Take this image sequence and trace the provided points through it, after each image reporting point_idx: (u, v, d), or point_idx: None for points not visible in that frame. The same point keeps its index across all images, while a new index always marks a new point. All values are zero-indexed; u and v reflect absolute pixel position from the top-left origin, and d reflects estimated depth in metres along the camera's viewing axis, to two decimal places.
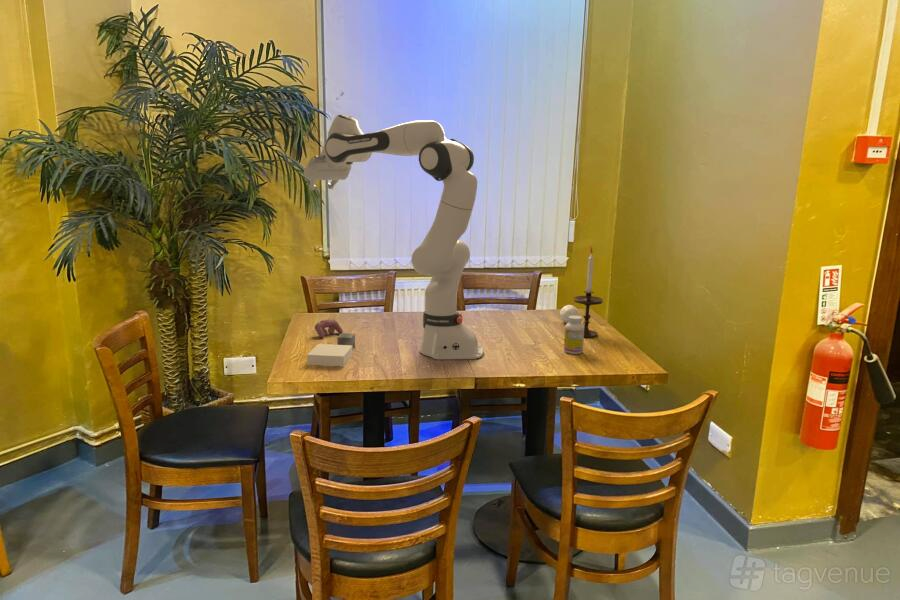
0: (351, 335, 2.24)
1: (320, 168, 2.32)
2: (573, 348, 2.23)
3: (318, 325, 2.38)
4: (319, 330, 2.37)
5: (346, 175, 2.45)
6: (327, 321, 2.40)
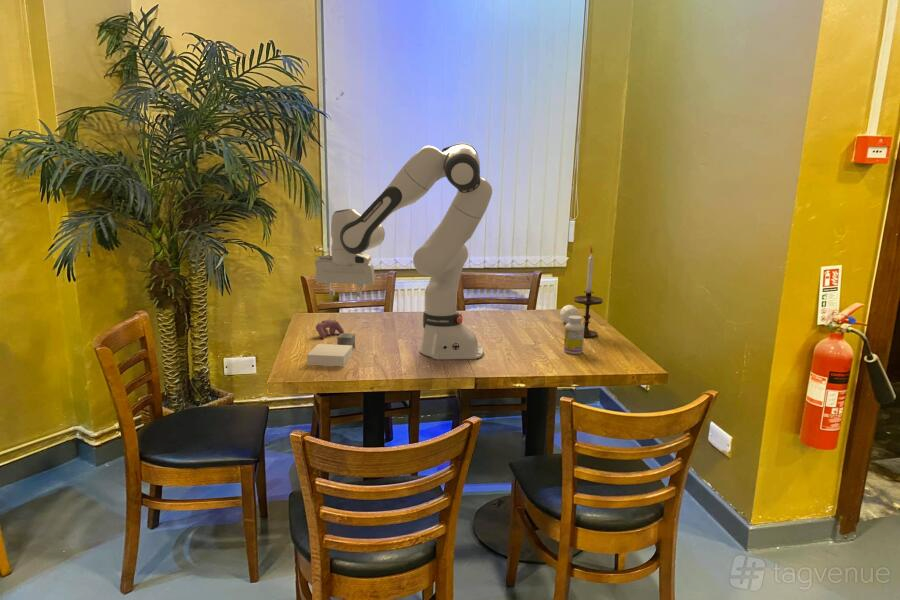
0: (351, 335, 2.24)
1: (327, 269, 2.17)
2: (573, 348, 2.23)
3: (319, 325, 2.37)
4: (320, 330, 2.37)
5: (369, 278, 2.16)
6: (328, 321, 2.40)
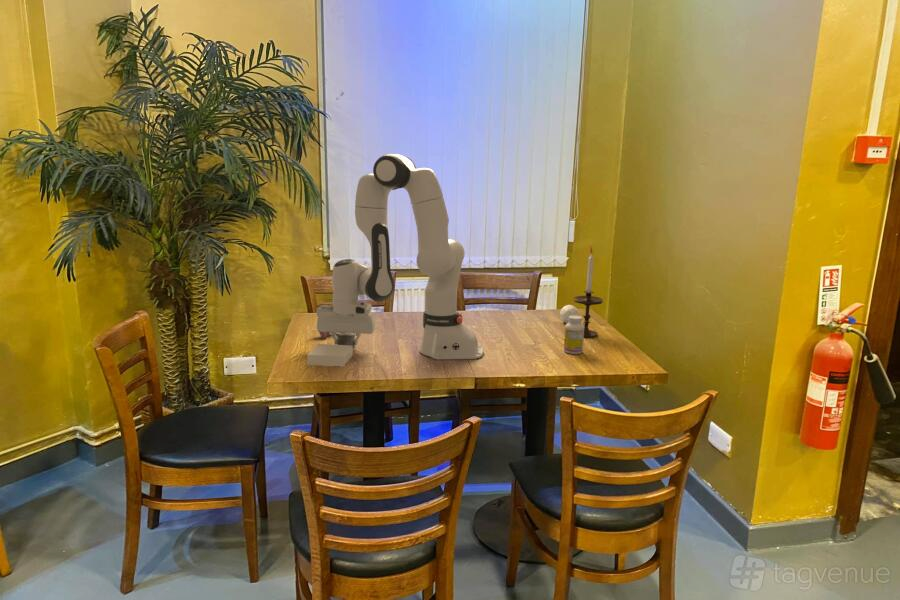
0: (351, 335, 2.24)
1: (328, 318, 2.21)
2: (573, 348, 2.23)
3: None
4: None
5: (369, 328, 2.20)
6: None
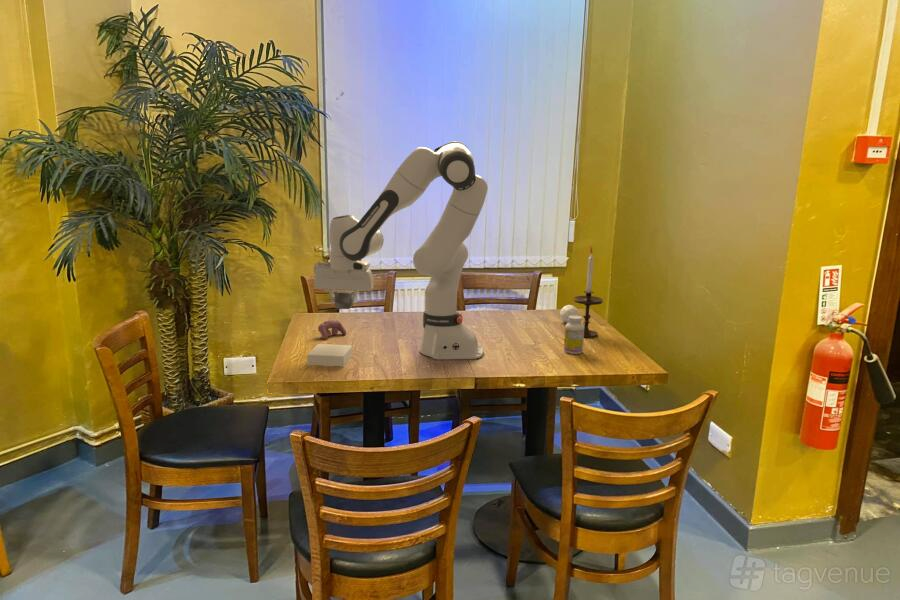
0: (349, 292, 2.19)
1: (325, 275, 2.17)
2: (573, 348, 2.23)
3: (322, 326, 2.37)
4: (323, 331, 2.36)
5: (367, 285, 2.16)
6: (330, 322, 2.39)
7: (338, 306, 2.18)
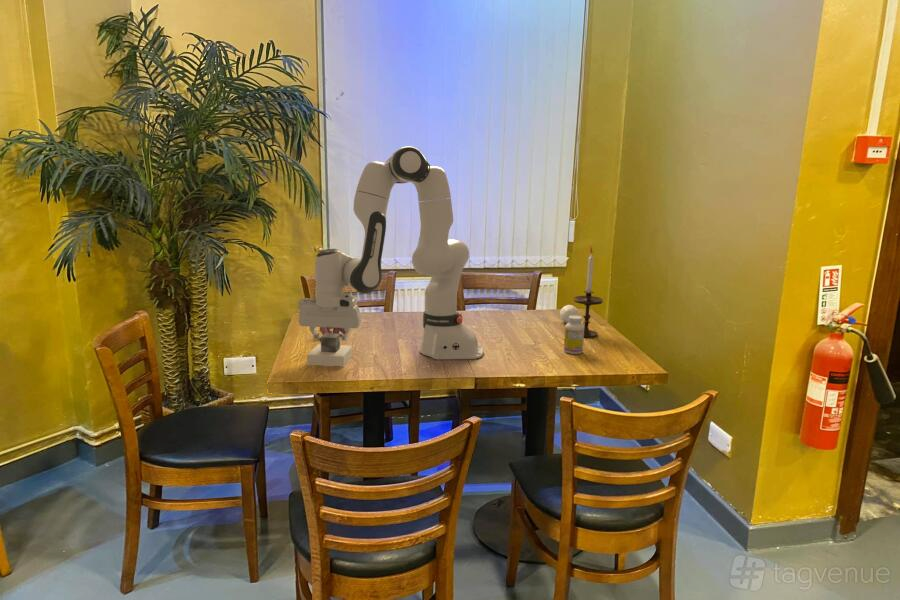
0: (335, 335, 2.11)
1: (311, 312, 2.08)
2: (573, 348, 2.23)
3: None
4: (324, 331, 2.35)
5: (354, 322, 2.07)
6: None
7: (324, 349, 2.09)
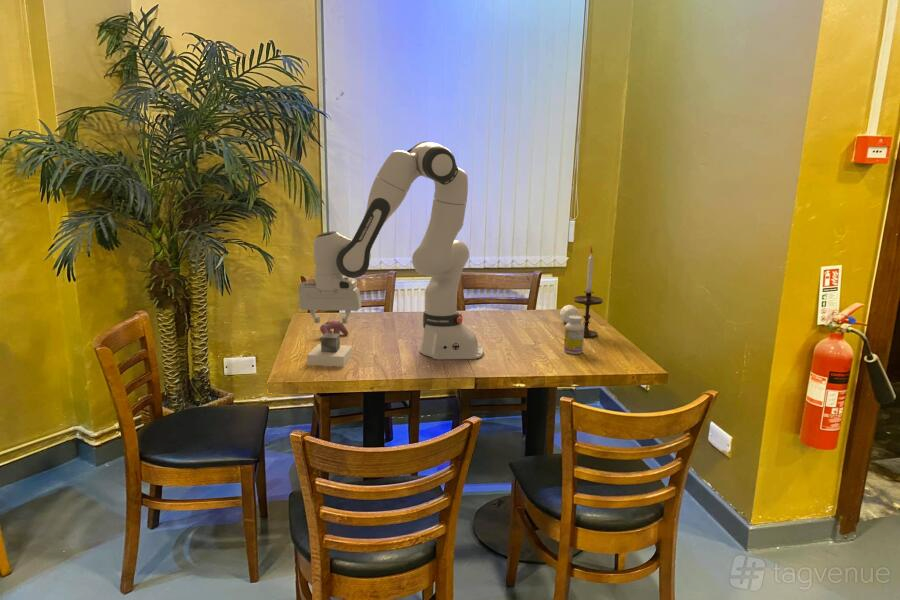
0: (336, 335, 2.11)
1: (311, 295, 2.07)
2: (573, 348, 2.23)
3: (324, 326, 2.36)
4: (325, 332, 2.35)
5: (355, 304, 2.06)
6: (332, 322, 2.38)
7: (325, 350, 2.09)
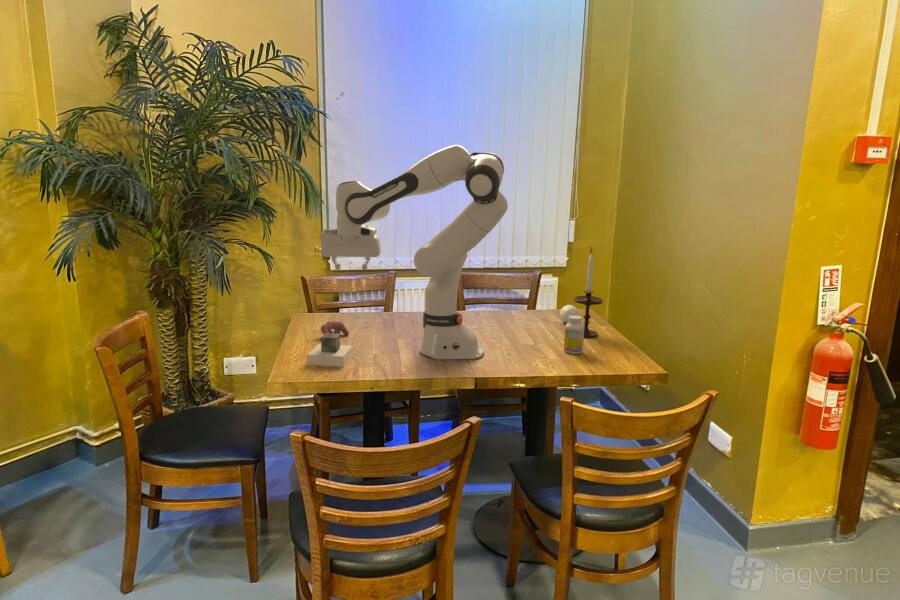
0: (336, 335, 2.11)
1: (332, 242, 2.16)
2: (573, 348, 2.23)
3: (324, 327, 2.36)
4: (325, 332, 2.35)
5: (375, 251, 2.16)
6: (333, 323, 2.38)
7: (325, 350, 2.09)
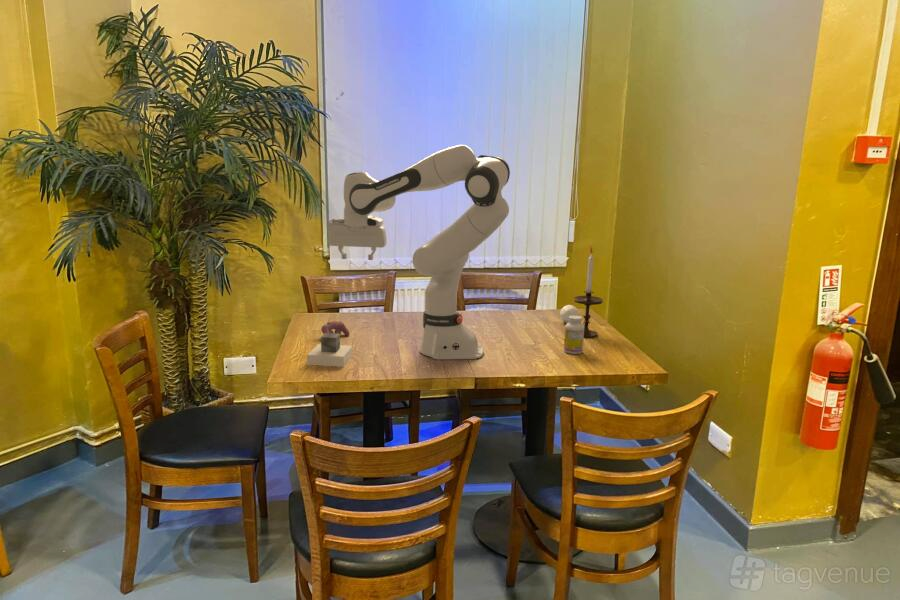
0: (336, 335, 2.11)
1: (339, 232, 2.20)
2: (573, 348, 2.23)
3: (325, 327, 2.35)
4: (326, 332, 2.35)
5: (381, 241, 2.19)
6: (334, 323, 2.38)
7: (325, 349, 2.09)
